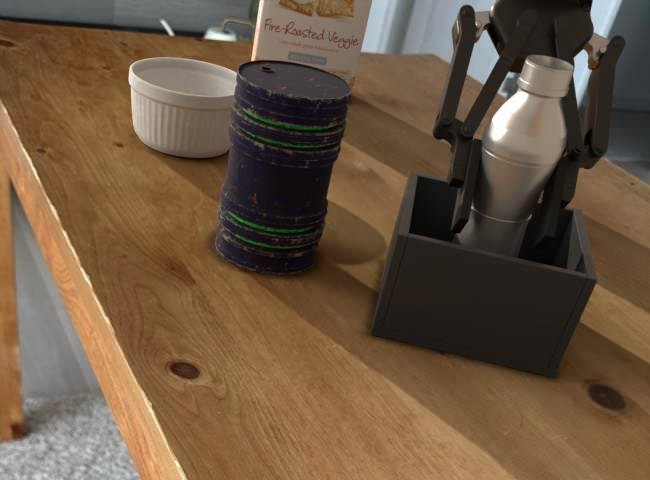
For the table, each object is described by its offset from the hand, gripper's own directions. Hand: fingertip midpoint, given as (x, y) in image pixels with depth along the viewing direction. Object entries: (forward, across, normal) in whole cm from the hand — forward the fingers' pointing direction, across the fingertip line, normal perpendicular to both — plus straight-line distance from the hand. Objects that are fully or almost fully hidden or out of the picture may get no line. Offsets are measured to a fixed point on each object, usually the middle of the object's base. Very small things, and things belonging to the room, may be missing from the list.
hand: (501, 234), depth 69 cm
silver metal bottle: (+3, 0, -9) cm, 9 cm away
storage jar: (0, +18, -13) cm, 23 cm away
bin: (+4, 0, -9) cm, 10 cm away
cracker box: (-37, +19, -50) cm, 65 cm away
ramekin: (-17, +30, -30) cm, 46 cm away
